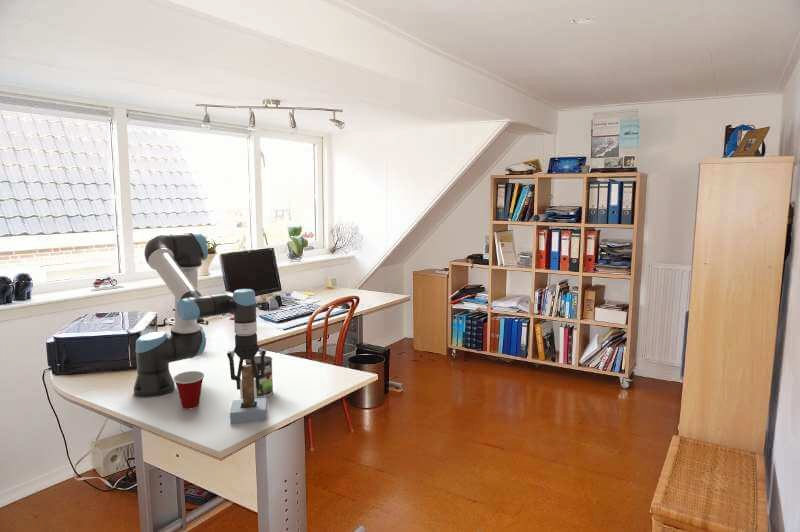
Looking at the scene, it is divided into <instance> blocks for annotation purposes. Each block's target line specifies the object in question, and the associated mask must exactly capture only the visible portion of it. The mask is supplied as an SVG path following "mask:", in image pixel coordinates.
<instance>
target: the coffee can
mask: <svg viewBox="0 0 800 532" xmlns="http://www.w3.org/2000/svg"><path fill="white" fill-rule="evenodd" d="M255 362H256V365H257V369H258V373H259V374H260V373H261V355H257V356H256V355H255ZM244 363H245V365H252V363H251V360H249V359H246V360H244ZM253 372H254V371H253ZM254 378H255V375H254ZM259 384H260V386H259V388H256V390H257V397H256V398H267V397H270V396H271V395H273V394H274V389H273V386H274V385H273V384H274V383H273V358H272V357H271V356H267V355H265V356H264V377H263V378H260V379H259Z"/></svg>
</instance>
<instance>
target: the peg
mask: <svg viewBox="0 0 800 532" xmlns="http://www.w3.org/2000/svg"><path fill="white" fill-rule="evenodd" d="M241 379H242V387H243V408H252V407H255V398H254V381H253V380H254V372H253V367H252V365H246V364H244V365H242V371H241Z"/></svg>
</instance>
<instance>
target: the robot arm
mask: <svg viewBox="0 0 800 532" xmlns="http://www.w3.org/2000/svg"><path fill="white" fill-rule="evenodd" d="M208 248H209V247H208V243H207V240H206V238H205V237H204V235H203V234H201V233H200V232H198V231H190V230H189V231H176V232H175V231H174V232H160V233H158V234H155V235H154V236H152V237H151V238H150V239H149V240H148V242H147V243H146V245H145V247H144V259H145V262H146V264H147V265H148V266H149V267H150V268H151V269H153V270H155V271H156V272H157V273H158V275H159V277H160V278H161V279H162V281H163V282H164V283H165V285H166V287H168V289H169V290H170V292H171V293H172V295H173V296H174V324H173V325H172V326H171V327H170V333H167V332H166V331H162V330H161V331H154V332H149V333H146V334H143V335H141V336H139V337H138V338H137V339H136V341H135V350H134V351H135V355H136V356H135V357H136V370H137V371H136V372H137V373H136V375H137V376H136V377H135V378H136V379H135V382H134V384H133V385H134V386H133V395H134V396H136V397H139V398H155V397H159V396H163V395H167V394H170V393H171V392H173V391H174V390H175V389H176V388H175V387H176V384H175V381H174V379H173V378H174V377H172V373H171V372H170V368H169V366H170V365H169V364H170V363H174V362H178V361H183V360H187V359H193V358H195V357H199V356H202V354H203V353H204V352H205V349H206V344H207V337H206V333H205V331H204V329H203V328H202V329H203V330H202V329H201V327H202V326H201V325H199V324H198V320H199V319H204V318H209V317H215V316H223V315H227V314H228V315H229V314H230V315H233V318H234V319H233V320H234V321H233V324H234V333H235V335H234V343H235V344H234V345H235V346H234V349H233V350H231V351H227V354H226V357H227V358H228V360H229V372H230V380H232V381H235V382H236V389H237V391H239V392H240V394H239V395H240V400H242V399H243V387H242V366H243V364H244V363H243V362H244V361H245V360H246V359H249V360H251V363H252V367H253V371H254V375H255V378H254V380H253V381H254V398H256V397H257V390H256V388H259V386H260V384H259V379H260V378H263V377H264V356H266V354H267V349H266V348H260V346H259V345H258V333H257V331H258V326H257V324H258V323H257V321H258V320H257V298H256V293H255V291H254V289H251V288H239V289H236V290H234V291H233V292H232V291H229V290H228V291H227V290H226V291H220V292H219V293H217V294H210V295H209V294H208V295H202V294H201V292H200V291H199V290H198V278H199V277H198V270H199V268H200V267H202V263H203V262H202V261H204V260H206V259H207V258H208V255H209V249H208ZM258 353H259V356H261V373H260V374H259V373H258V369H257V365H256V362H255V356H256V355H257V354H258ZM235 355H236V356H237V357H238V358H239V361H238V366H237V367H238V368H237V375H236V372H235V370H236V369H235V362H234V357H235Z"/></svg>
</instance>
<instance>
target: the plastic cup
mask: <svg viewBox="0 0 800 532" xmlns="http://www.w3.org/2000/svg"><path fill="white" fill-rule="evenodd" d="M204 377H205V374H204V372H201V371H196V370H191V371H184V372H181V373H178V374H176V375H174V376H173V377H172V378H173V381H174V384H175V386H176V388H177V392H178V396H179V399H180V404H181V406H182V408H183V409H184V410H192V409H193V410H194V409H195V408H198V407H199V404H200V399H201V394H202V393H201V392H202V385H203V379H204Z"/></svg>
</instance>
